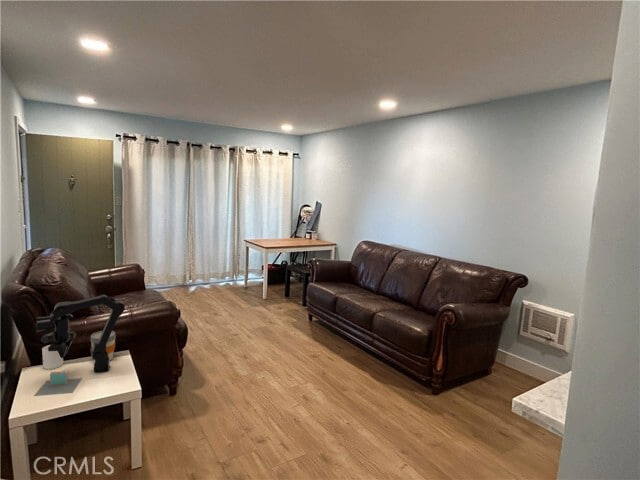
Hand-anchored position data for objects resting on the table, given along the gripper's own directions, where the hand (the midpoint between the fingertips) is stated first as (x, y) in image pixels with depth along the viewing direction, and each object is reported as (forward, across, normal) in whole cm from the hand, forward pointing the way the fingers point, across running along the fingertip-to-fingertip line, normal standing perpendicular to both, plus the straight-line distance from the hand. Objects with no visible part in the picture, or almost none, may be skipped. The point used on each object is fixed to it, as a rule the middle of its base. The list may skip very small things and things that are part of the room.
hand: (63, 356), depth 187 cm
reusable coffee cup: (+12, -20, +13) cm, 27 cm away
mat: (+12, +9, +1) cm, 15 cm away
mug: (+12, -16, -11) cm, 23 cm away
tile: (+11, +6, 0) cm, 13 cm away
